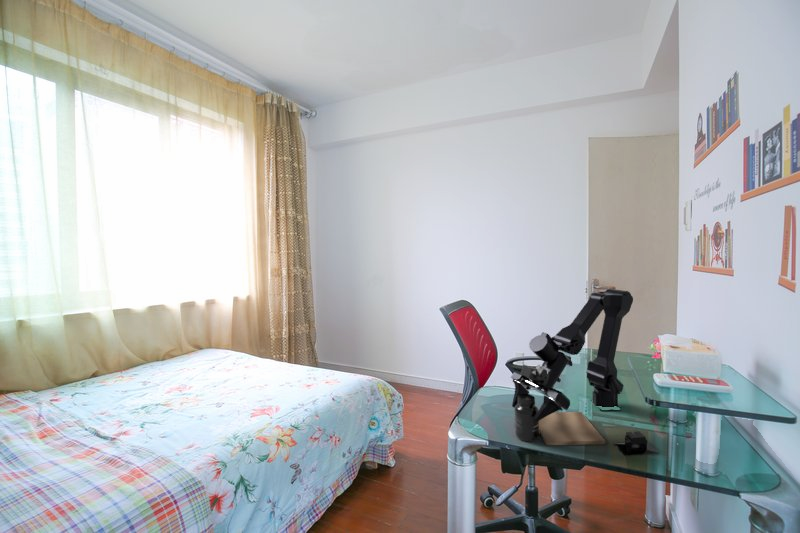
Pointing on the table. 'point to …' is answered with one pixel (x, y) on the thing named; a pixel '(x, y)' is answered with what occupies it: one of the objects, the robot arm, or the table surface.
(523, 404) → the supplement bottle
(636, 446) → the black block on base
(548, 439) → the board
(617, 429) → the table surface
